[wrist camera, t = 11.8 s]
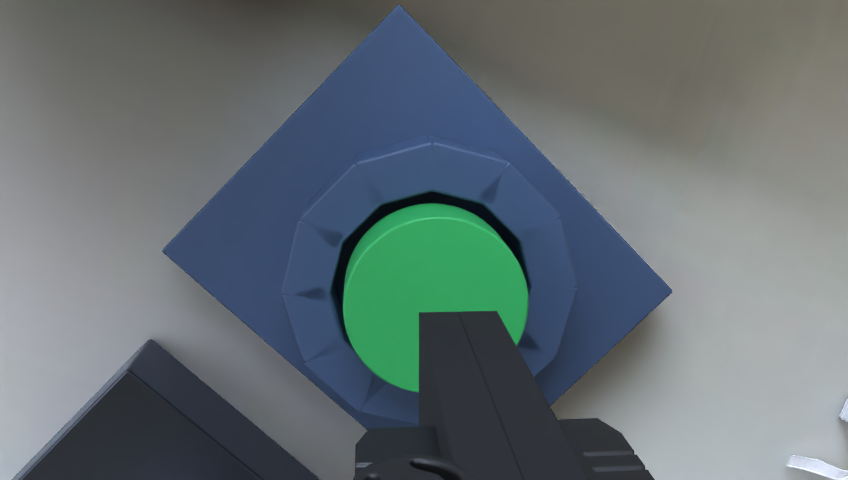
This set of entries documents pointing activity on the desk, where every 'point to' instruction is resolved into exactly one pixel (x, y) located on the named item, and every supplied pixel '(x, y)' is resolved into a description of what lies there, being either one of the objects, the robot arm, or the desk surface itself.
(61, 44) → the desk surface
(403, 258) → the button
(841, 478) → the figurines set
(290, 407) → the desk surface
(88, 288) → the desk surface
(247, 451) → the dial panel
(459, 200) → the block
